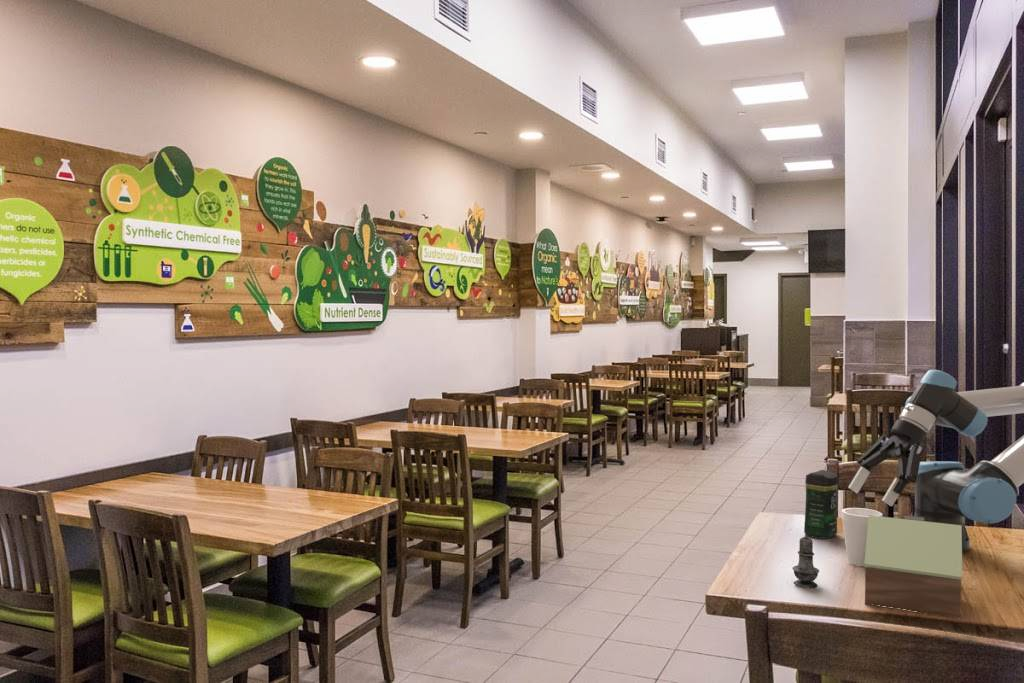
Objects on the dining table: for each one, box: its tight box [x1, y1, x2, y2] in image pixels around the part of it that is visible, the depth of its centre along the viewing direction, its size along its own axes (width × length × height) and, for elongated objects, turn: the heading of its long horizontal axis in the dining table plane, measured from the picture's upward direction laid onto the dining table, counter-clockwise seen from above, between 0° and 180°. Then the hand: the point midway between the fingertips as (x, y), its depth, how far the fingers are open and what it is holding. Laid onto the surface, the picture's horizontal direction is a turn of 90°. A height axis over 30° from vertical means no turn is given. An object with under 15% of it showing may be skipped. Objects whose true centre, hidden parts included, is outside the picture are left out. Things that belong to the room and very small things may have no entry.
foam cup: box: [841, 507, 884, 567], centre depth 198 cm, size 10×9×13 cm
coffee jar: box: [803, 469, 839, 539], centre depth 224 cm, size 10×8×19 cm
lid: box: [863, 515, 963, 581], centre depth 170 cm, size 15×18×2 cm
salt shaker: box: [791, 533, 820, 589], centre depth 182 cm, size 6×6×12 cm
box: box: [864, 567, 962, 620], centre depth 171 cm, size 14×18×8 cm
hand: (869, 496), depth 197 cm, fingers open, 13 cm apart
